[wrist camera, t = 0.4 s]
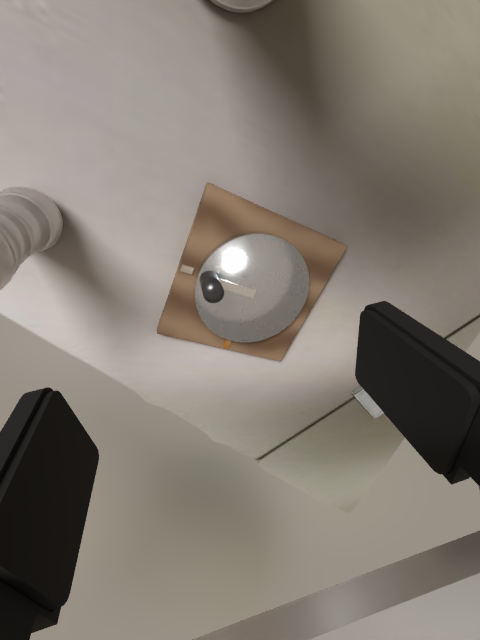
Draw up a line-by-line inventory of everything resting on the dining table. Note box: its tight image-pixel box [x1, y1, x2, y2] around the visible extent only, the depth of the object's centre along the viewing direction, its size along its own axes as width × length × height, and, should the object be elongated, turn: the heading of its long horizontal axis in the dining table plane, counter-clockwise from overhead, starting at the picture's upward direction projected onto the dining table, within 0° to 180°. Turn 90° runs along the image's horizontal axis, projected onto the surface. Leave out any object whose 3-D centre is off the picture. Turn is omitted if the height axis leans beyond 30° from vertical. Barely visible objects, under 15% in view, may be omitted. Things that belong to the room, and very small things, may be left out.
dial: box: [194, 232, 309, 343], centre depth 40 cm, size 17×17×6 cm
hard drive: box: [351, 386, 384, 418], centre depth 65 cm, size 2×8×12 cm
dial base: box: [157, 182, 347, 361], centre depth 43 cm, size 22×22×2 cm
